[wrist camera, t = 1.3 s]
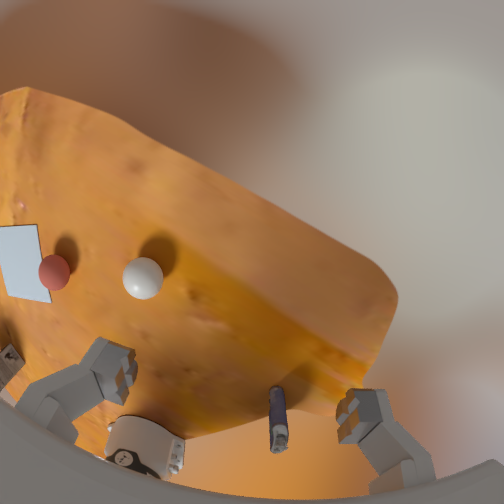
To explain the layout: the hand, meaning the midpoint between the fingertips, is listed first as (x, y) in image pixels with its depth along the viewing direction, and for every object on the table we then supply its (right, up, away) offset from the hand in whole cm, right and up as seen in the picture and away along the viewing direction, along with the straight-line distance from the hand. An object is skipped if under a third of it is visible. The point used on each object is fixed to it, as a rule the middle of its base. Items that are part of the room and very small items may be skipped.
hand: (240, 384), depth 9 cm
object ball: (-30, +2, +25) cm, 39 cm away
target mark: (-42, +3, +28) cm, 50 cm away
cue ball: (-14, +1, +25) cm, 29 cm away
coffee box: (-58, -21, +35) cm, 71 cm away
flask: (+5, -22, +35) cm, 42 cm away
